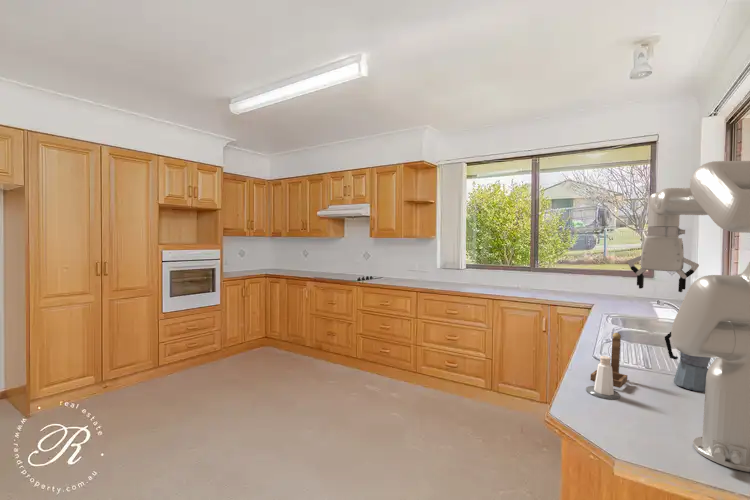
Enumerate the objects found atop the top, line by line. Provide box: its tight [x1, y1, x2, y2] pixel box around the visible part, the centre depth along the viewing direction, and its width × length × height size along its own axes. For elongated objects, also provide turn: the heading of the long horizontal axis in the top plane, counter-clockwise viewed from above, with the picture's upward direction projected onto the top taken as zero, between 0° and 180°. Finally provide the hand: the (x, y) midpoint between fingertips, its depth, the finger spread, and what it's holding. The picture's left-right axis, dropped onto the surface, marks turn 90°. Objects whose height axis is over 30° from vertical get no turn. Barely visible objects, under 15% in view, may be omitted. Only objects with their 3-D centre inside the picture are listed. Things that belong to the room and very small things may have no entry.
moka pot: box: [664, 331, 711, 393], centre depth 126 cm, size 10×15×20 cm, turn 78°
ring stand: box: [590, 332, 628, 389], centre depth 129 cm, size 14×9×16 cm, turn 134°
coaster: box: [585, 385, 621, 400], centre depth 119 cm, size 9×9×1 cm
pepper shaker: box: [593, 355, 615, 395], centre depth 119 cm, size 5×5×11 cm
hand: (660, 289), depth 116 cm, fingers open, 9 cm apart
